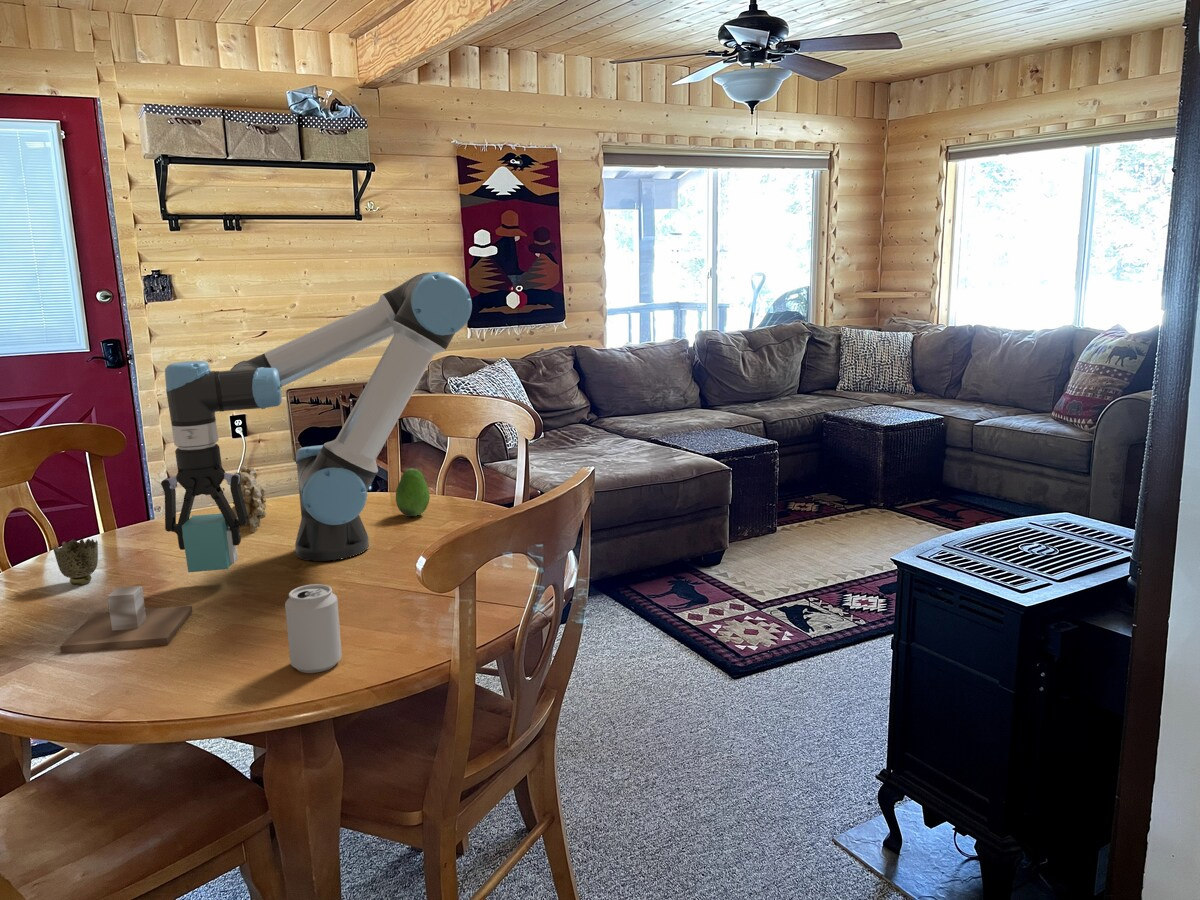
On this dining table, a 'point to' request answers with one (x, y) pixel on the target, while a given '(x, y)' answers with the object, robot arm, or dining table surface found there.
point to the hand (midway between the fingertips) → (212, 563)
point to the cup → (77, 560)
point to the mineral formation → (252, 497)
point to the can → (313, 628)
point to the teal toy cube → (206, 543)
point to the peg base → (127, 638)
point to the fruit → (412, 493)
